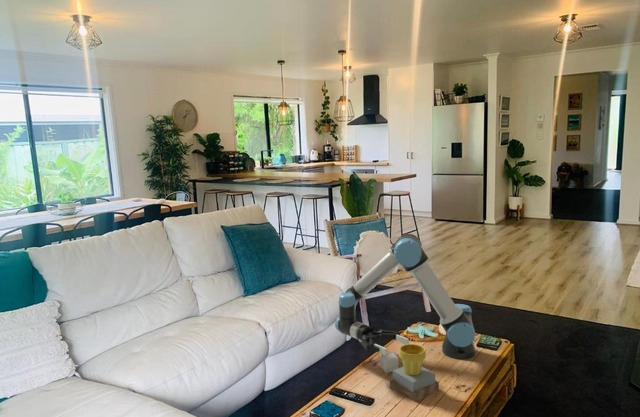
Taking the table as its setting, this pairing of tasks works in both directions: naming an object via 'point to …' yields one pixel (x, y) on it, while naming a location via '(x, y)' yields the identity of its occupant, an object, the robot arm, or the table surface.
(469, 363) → the table surface
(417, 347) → the plant pot
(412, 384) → the gray square slab
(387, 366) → the matte white cube
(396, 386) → the walnut base slab
